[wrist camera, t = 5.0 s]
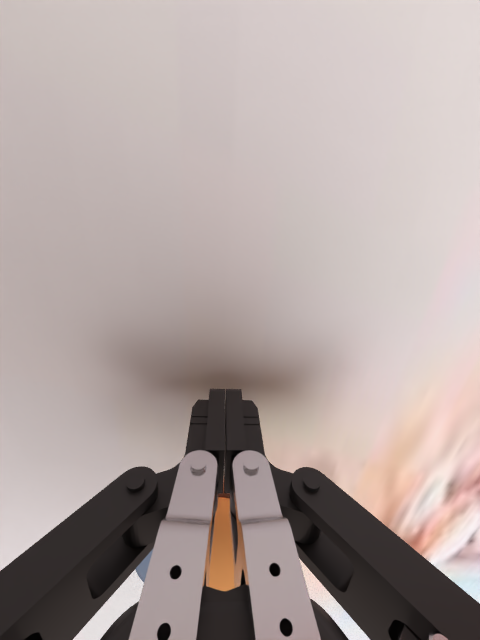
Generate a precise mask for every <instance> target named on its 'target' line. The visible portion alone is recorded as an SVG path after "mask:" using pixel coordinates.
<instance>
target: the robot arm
mask: <svg viewBox="0 0 480 640" xmlns="http://www.w3.org/2000/svg"><path fill="white" fill-rule="evenodd" d="M223 476H224V493H230V509H229V518H230V530H231V541H232V553H233V564H234V589H231V590H228V591H220V590H217V589H214V588H211V587H209V574H210V564H211V554H212V544H213V534H214V525H215V514H216V511H217V506H218V493H223ZM152 549H153V552H152V556H151V559H150V563H149V567H148V570H147V574H146V578H145V581H144V585H143V589H142V593H141V596H140V600H139V602H137V603H136V604H134V605H133V606H131V607H130V608H129V609H128V610H127V611H125V612H124V613H123V614H122V615H121V616H120V617H119V618H118V619H117V620H116V621H115V622H114V623H113V624H112V625H111V627H110V628H109V629H108V630H107V632H106V633H105V634H104V635H103V637H102V638H101V639H100V640H349V639H348V638H347V637H346V636H345V634H344V633H343V632H342V630H341V629H340V628H339V627H338V625H337V624H336V623H335V621H334V620H333V619H332V618H331V617H330V615H329V614H328V613H327V612H326V611H325V610H324V609H323V608H322V607H321V606H319V605H318V604H317V603H316V602H315V601H313V600H312V599H310V597H309V593H308V590H307V586H306V582H305V578H304V575H303V571H302V567H301V564H300V560H299V558H300V559H301V561H302V562H303V563H304V564H305V565H306V566H307V567H308V569H309V570H310V571H311V572H312V573H313V574H314V575H315V577H316V578H317V579H318V580H319V581H320V582H321V583H322V585H323V586H324V587H325V588H326V589H327V590H328V591H329V593H330V594H331V595H332V596H333V597H334V598H335V599H336V601H337V602H338V603H339V604H340V605H341V606H342V607H343V609H344V610H345V611H346V612H347V613H348V614H349V615H350V617H351V618H352V619H353V620H354V621H355V622H356V623H357V625H358V626H359V627H360V628H361V629H362V630H363V631H364V633H365V634H366V635H367V636H368V637H369V638H370V640H480V604H479V603H478V602H477V601H476V600H474V599H473V598H472V597H471V596H470V595H468V594H467V593H466V592H465V591H464V590H462V589H461V588H460V587H459V586H458V585H456V584H455V583H454V582H453V581H452V580H450V579H449V578H448V577H447V576H445V575H444V574H443V573H442V572H441V571H439V570H438V569H437V568H436V567H435V566H433V565H432V564H431V563H430V562H429V561H427V560H426V559H425V558H424V557H423V556H421V555H420V554H419V553H418V552H417V551H415V550H414V549H413V548H412V547H411V546H409V545H408V544H407V543H406V542H404V541H403V540H402V539H401V538H400V537H398V536H397V535H396V534H395V533H394V532H392V531H391V530H390V529H389V528H388V527H386V526H385V525H384V524H383V523H382V522H380V521H379V520H378V519H377V518H376V517H374V516H373V515H372V514H371V513H370V512H368V511H367V510H366V509H365V508H363V507H362V506H361V505H360V504H359V503H357V502H356V501H355V500H354V499H353V498H351V497H350V496H349V495H348V494H347V493H345V492H344V491H343V490H342V489H341V488H339V487H338V486H337V485H336V484H335V483H333V482H332V481H331V480H330V479H329V478H327V477H326V476H325V475H324V474H322V473H321V472H320V471H318V470H316V469H314V468H310V467H303V468H299V469H297V470H296V471H295V472H294V473H289V472H286V471H283V470H280V469H278V468H276V467H274V466H273V465H272V464H271V463H270V462H269V461H268V460H267V458H266V456H265V453H264V447H263V441H262V434H261V428H260V421H259V415H258V408H257V407H256V405H255V404H254V403H253V401H252V400H242V393H241V389H226V400H225V389H210V393H209V400H198V401H197V402H196V403H195V405H194V406H193V407H192V414H191V420H190V427H189V433H188V440H187V446H186V452H185V456H184V458H183V459H182V460H181V462H180V463H179V464H178V465H177V466H175V467H174V468H172V469H170V470H167V471H164V472H160V473H157V474H155V472H154V471H153V470H152V469H150V468H148V467H135V468H132V469H130V470H128V471H126V472H125V473H123V474H122V475H121V476H119V477H118V478H117V479H116V480H114V481H113V482H112V483H111V484H109V485H108V486H107V487H106V488H104V489H103V490H102V491H101V492H99V493H98V494H97V495H95V496H94V497H93V498H92V499H90V500H89V501H88V502H87V503H85V504H84V505H83V506H82V507H80V508H79V509H78V510H77V511H75V512H74V513H73V514H72V515H70V516H69V517H68V518H67V519H65V520H64V521H63V522H61V523H60V524H59V525H58V526H56V527H55V528H54V529H53V530H51V531H50V532H49V533H48V534H46V535H45V536H44V537H43V538H41V539H40V540H39V541H38V542H36V543H35V544H34V545H33V546H31V547H30V548H29V549H27V550H26V551H25V552H24V553H22V554H21V555H20V556H19V557H17V558H16V559H15V560H14V561H12V562H11V563H10V564H9V565H7V566H6V567H5V568H4V569H2V570H1V571H0V640H73V638H74V637H75V636H76V635H77V634H78V633H79V632H80V631H81V629H82V628H83V627H84V626H85V625H86V624H87V623H88V622H89V620H90V619H91V618H92V617H93V616H94V615H95V614H96V613H97V611H98V610H99V609H100V608H101V607H102V606H103V605H104V604H105V602H106V601H107V600H108V599H109V598H110V597H111V596H112V595H113V593H114V592H115V591H116V590H117V589H118V588H119V587H120V585H121V584H122V583H123V582H124V581H125V580H126V579H127V578H128V576H129V575H130V574H131V573H132V572H133V571H134V570H135V569H136V567H137V566H138V565H139V564H140V563H141V562H142V561H143V560H144V558H145V557H146V556H147V555H148V554H149V553H150V552H151V551H152Z"/></svg>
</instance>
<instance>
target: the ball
mask: <svg viewBox="0 0 480 640" xmlns="http://www.w3.org/2000/svg"><path fill="white" fill-rule="evenodd" d="M229 509H230V499H229V498H225V497H218V506H217V511H216V514H215V525H214V534H213V544H212V554H211V564H210V574H209V587H211V588H214V589H217V590H220V591H228V590H231V589H234V564H233V553H232V541H231V530H230V518H229Z"/></svg>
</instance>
